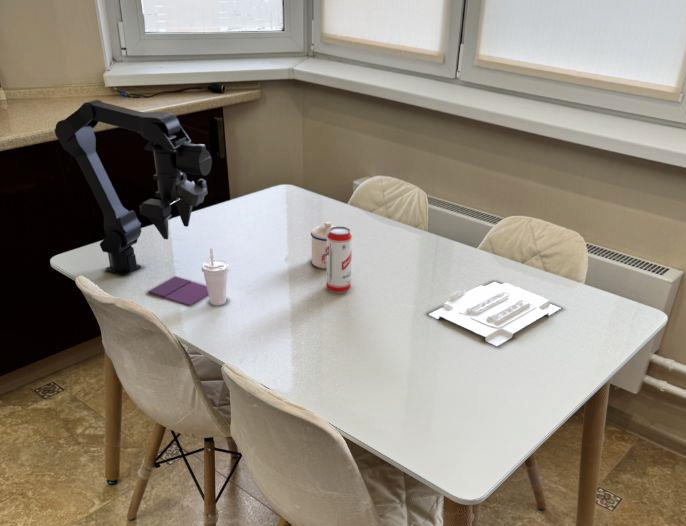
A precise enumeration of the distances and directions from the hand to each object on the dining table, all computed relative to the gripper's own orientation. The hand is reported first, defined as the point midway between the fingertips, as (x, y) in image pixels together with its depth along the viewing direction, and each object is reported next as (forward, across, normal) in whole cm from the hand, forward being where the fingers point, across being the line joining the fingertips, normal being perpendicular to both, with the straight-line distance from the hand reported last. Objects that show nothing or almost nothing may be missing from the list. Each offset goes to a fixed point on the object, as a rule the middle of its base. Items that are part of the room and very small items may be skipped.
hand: (176, 232), depth 172 cm
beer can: (+14, +12, -39) cm, 43 cm away
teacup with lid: (+14, +27, -31) cm, 43 cm away
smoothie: (+13, -7, -14) cm, 21 cm away
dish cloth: (+13, -6, -4) cm, 15 cm away
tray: (+14, +16, -79) cm, 82 cm away
